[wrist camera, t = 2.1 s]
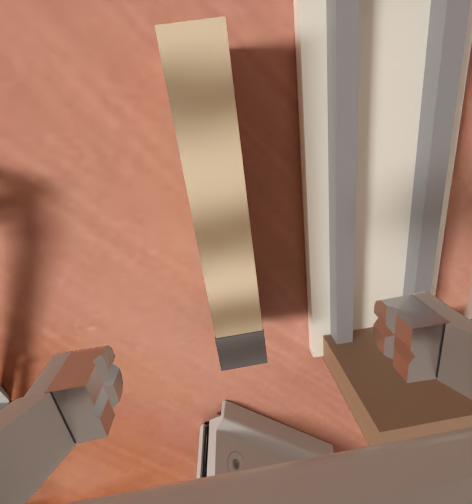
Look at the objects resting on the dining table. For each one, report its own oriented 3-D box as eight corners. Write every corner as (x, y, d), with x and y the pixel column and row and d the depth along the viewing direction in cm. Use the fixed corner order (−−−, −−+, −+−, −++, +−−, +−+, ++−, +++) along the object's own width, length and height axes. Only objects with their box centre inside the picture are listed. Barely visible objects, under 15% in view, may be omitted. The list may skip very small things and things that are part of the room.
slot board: (290, -56, 18) (401, -307, 8) (474, -78, 19) (805, -342, 8) (309, 353, 31) (363, 464, 20) (420, 333, 31) (528, 433, 21)
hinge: (334, 445, 36) (351, 561, 29) (308, 454, 39) (317, 563, 31) (222, 398, 32) (206, 521, 24) (200, 412, 34) (179, 527, 27)
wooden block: (168, 56, 20) (153, 24, 14) (220, 49, 20) (226, 15, 14) (218, 323, 28) (221, 370, 23) (255, 317, 28) (267, 362, 23)
